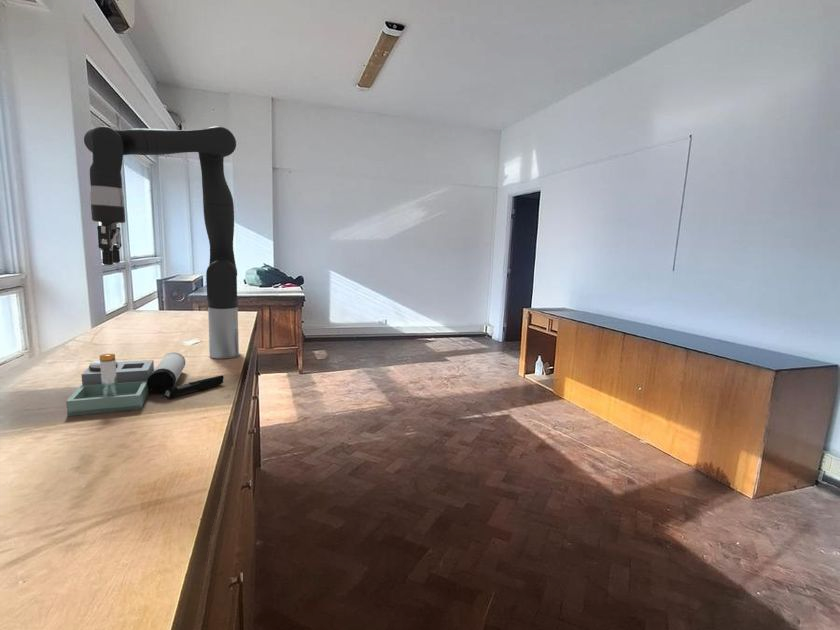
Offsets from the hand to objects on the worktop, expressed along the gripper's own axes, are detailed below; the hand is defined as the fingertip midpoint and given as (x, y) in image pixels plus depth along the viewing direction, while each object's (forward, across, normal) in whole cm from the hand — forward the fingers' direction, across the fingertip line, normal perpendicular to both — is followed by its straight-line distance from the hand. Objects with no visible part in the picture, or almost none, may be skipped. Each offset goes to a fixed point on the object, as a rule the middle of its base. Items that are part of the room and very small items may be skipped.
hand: (111, 263), depth 120 cm
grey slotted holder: (+32, -14, -3) cm, 35 cm away
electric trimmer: (+33, -21, -21) cm, 44 cm away
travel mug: (+29, -2, -14) cm, 32 cm away
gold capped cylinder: (+31, -26, -3) cm, 40 cm away
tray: (+32, -26, -3) cm, 41 cm away
